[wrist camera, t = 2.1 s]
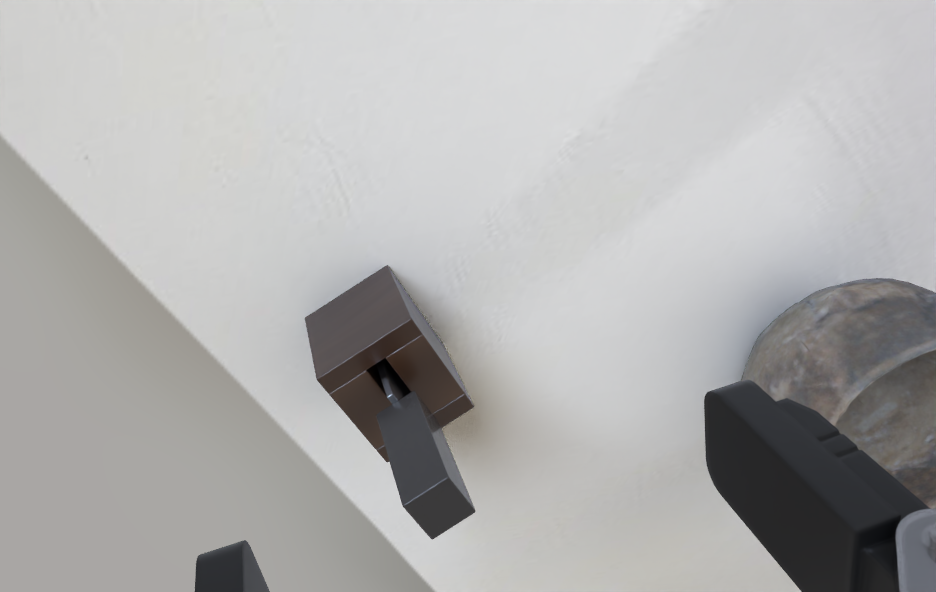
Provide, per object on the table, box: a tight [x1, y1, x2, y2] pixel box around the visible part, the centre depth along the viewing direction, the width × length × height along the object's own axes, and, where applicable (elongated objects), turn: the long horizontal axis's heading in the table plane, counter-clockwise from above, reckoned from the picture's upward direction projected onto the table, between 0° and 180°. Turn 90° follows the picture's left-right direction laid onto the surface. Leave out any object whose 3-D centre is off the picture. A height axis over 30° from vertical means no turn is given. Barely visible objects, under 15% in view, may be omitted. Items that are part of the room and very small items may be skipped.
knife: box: [376, 358, 475, 539], centre depth 35 cm, size 3×2×14 cm, turn 29°
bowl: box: [741, 278, 936, 509], centre depth 46 cm, size 14×15×10 cm
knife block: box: [305, 265, 474, 462], centre depth 38 cm, size 6×5×6 cm
